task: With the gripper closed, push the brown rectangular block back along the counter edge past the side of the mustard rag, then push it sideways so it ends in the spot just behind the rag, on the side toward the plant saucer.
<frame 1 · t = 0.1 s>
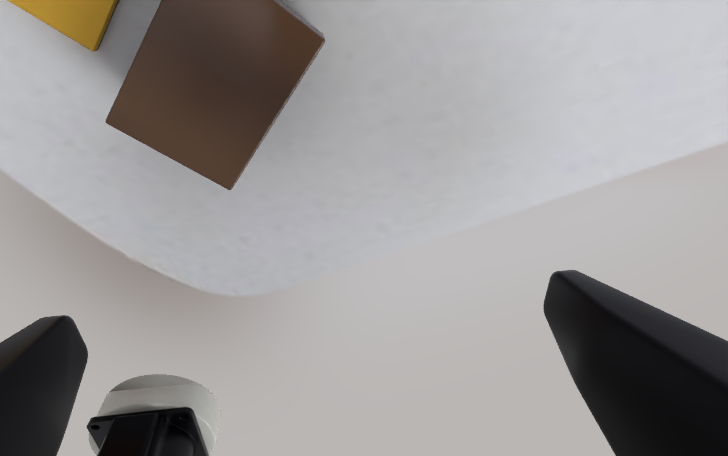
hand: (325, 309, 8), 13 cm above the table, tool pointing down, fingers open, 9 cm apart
brown rectangular block: (228, 65, 18), on the table
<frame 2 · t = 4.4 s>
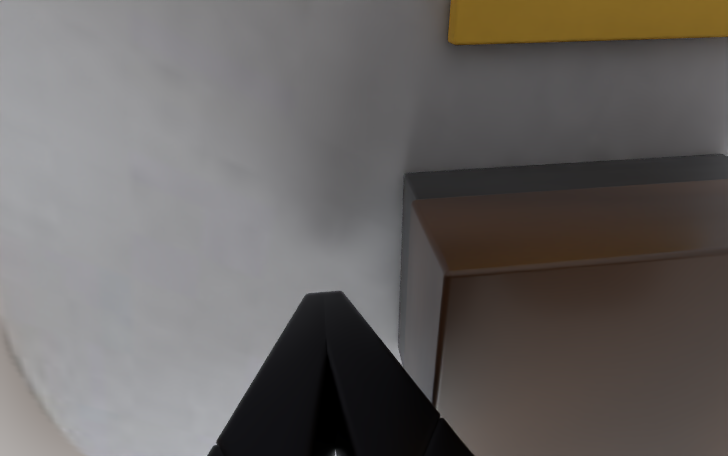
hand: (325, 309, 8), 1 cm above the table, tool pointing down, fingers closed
brown rectangular block: (545, 258, 9), on the table, touching gripper
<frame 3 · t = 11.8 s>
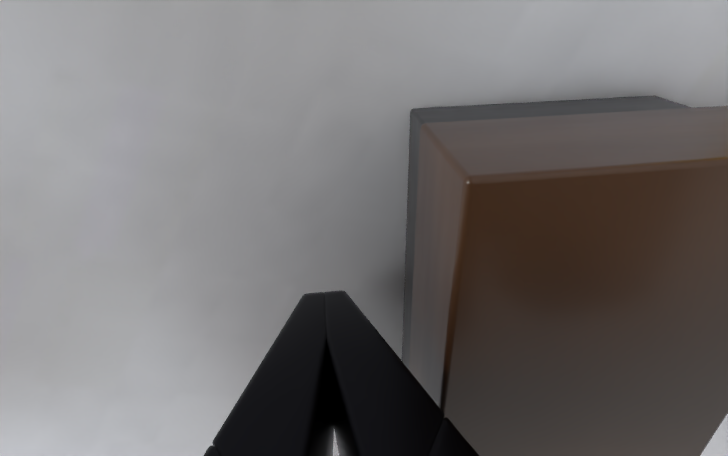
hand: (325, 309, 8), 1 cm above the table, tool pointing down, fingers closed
brown rectangular block: (508, 254, 9), on the table, touching gripper
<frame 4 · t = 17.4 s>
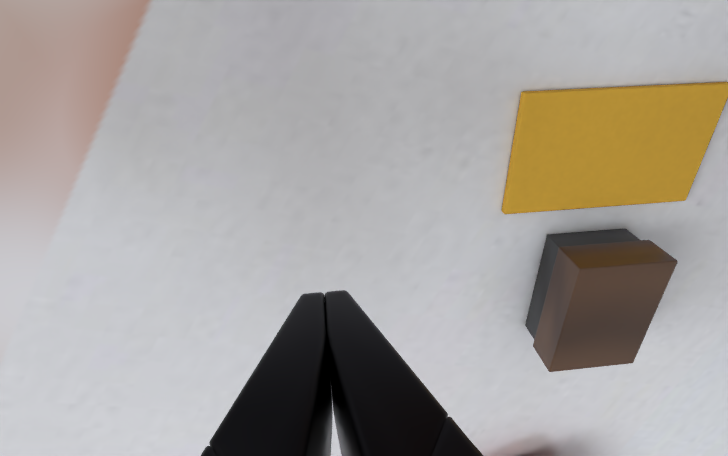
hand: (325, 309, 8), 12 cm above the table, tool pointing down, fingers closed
brown rectangular block: (572, 279, 25), on the table
cloth: (608, 149, 21), on the table
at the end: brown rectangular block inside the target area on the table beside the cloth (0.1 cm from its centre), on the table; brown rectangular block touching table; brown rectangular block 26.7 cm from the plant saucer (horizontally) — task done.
